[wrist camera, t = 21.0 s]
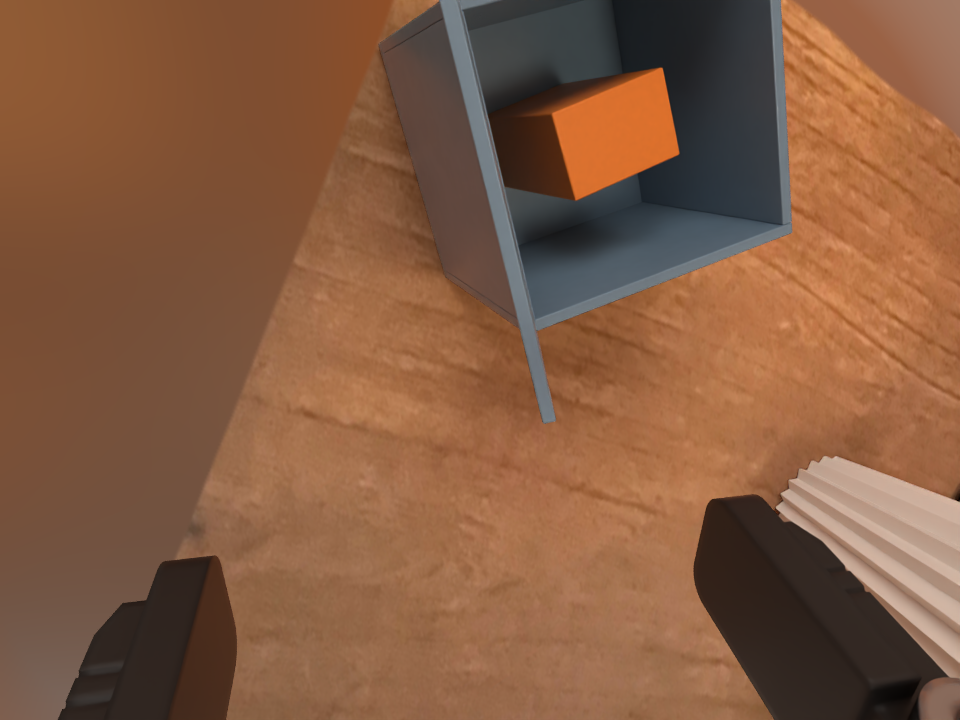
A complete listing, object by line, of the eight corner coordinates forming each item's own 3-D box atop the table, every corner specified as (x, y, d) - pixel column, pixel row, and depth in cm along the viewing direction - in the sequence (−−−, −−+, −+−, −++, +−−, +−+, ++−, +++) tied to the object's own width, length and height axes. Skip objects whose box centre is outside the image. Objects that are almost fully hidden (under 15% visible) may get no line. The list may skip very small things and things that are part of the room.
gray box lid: (538, 338, 24) (528, 340, 24) (457, -8, 20) (445, -4, 20) (556, 421, 19) (543, 424, 19) (448, -40, 14) (430, -35, 14)
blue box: (445, 277, 35) (527, 335, 25) (377, 43, 30) (445, -4, 20) (645, 206, 38) (792, 233, 28) (612, -18, 33) (777, -87, 23)
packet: (497, 186, 34) (575, 201, 26) (475, 118, 32) (551, 113, 24) (580, 150, 35) (680, 154, 27) (563, 83, 33) (663, 66, 25)
